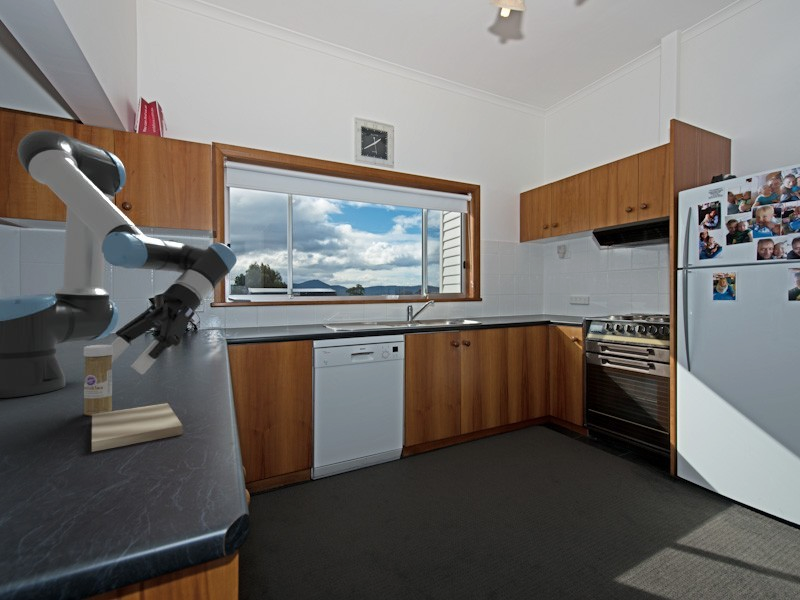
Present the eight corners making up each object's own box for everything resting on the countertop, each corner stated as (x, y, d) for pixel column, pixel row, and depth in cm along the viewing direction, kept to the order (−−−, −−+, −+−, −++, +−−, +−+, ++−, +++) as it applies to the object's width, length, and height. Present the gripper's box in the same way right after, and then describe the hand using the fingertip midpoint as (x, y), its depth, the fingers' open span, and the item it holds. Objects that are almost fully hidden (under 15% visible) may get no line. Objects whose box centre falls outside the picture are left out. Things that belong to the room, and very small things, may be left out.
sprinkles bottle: (79, 417, 74) (78, 347, 74) (90, 410, 78) (90, 344, 78) (107, 415, 75) (107, 346, 75) (116, 408, 79) (116, 343, 79)
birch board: (92, 422, 71) (92, 414, 71) (167, 410, 78) (167, 403, 78) (91, 451, 58) (91, 441, 58) (182, 434, 65) (182, 425, 65)
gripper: (232, 305, 88) (168, 384, 75) (167, 303, 99) (101, 372, 86) (211, 281, 83) (138, 361, 70) (145, 282, 95) (72, 351, 82)
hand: (117, 367), depth 78 cm, fingers open, 13 cm apart
